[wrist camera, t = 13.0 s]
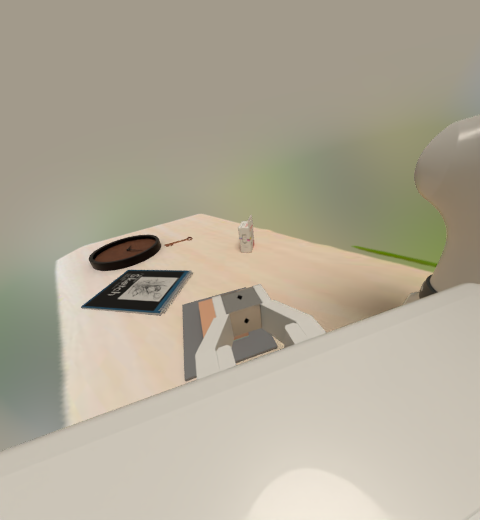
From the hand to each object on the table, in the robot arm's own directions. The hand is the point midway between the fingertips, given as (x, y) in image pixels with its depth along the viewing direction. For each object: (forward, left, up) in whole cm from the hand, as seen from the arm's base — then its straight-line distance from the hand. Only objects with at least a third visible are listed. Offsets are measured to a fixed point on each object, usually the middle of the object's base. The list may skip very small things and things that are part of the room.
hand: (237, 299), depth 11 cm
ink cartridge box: (-20, -63, -30) cm, 73 cm away
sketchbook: (+24, -51, -31) cm, 64 cm away
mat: (0, -25, -30) cm, 39 cm away
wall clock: (+36, -87, -30) cm, 99 cm away
